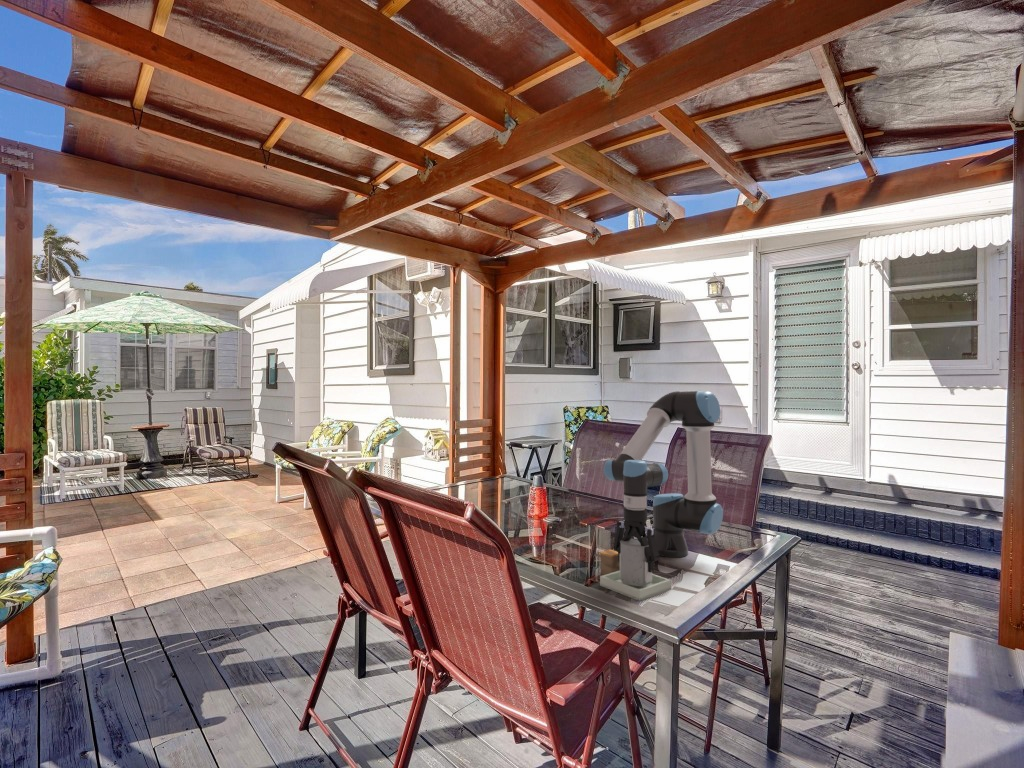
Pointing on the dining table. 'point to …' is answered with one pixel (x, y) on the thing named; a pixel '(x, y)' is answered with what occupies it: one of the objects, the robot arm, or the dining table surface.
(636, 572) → the grey cylinder
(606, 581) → the tray
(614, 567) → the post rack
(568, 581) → the dining table surface
